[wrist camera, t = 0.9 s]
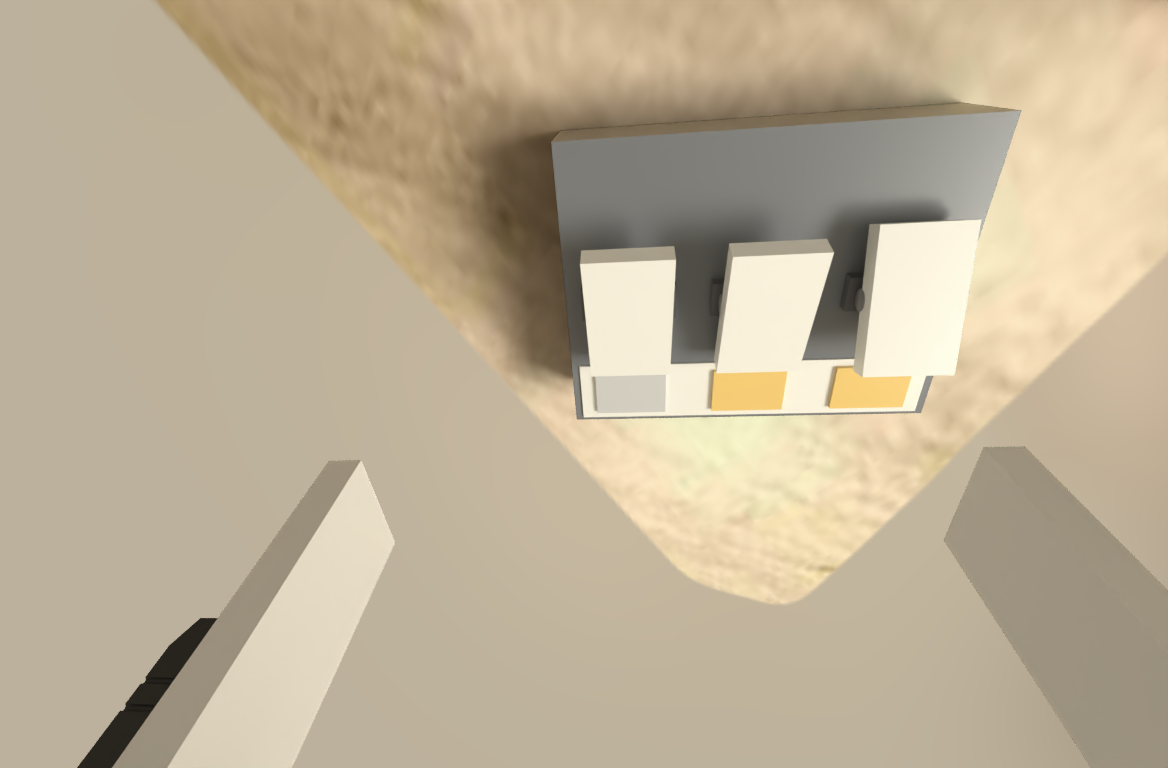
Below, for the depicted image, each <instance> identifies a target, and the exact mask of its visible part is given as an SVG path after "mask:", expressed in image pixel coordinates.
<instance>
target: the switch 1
mask: <svg viewBox="0 0 1168 768" xmlns="http://www.w3.org/2000/svg"><path fill="white" fill-rule="evenodd" d="M580 269H581V278H582V288H583V298H584V308H585V318H586V328H587V338H588V348H589V358H590V368H591V377H597V376H635V375H670V366H671V347H672V327H673V308H674V289H675V270H676V256H675V249H674V246H665V247H644V248H623V249H603V250H582V251H581V259H580Z"/></svg>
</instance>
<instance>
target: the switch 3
mask: <svg viewBox="0 0 1168 768" xmlns="http://www.w3.org/2000/svg"><path fill="white" fill-rule="evenodd" d="M981 220H982V219H960V220H940V221H920V222H900V223H880V224H869V232H868V241H867V250H866V259H865V268H864V277H863V286H862V289H859V290H858V291H857V293H856V296H855V306H856V309H857V311H859V312H860V313H859V322H858V331H857V340H856V349H855V358H854V367H853V371H854V372H855V373H857V374H858V375H860V376H861V377H896V376H936V375H955V369H956V364H957V358H958V352H959V346H960V341H961V335H962V329H963V323H964V318H965V312H966V306H967V300H968V295H969V289H970V283H971V277H972V272H973V266H974V260H975V254H976V249H977V243H978V237H979V231H980V226H981Z"/></svg>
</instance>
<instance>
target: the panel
mask: <svg viewBox="0 0 1168 768" xmlns="http://www.w3.org/2000/svg"><path fill="white" fill-rule="evenodd" d="M1020 113H1021V110H1014V109H1006V108H999V107H991V106H984V105H976V104H969V103H952V104H937V105H923V106H908V107H894V108H879V109H865V110H850V111H836V112H821V113H807V114H792V115H778V116H763V117H749V118H734V119H720V120H705V121H691V122H676V123H661V124H647V125H632V126H618V127H603V128H589V129H574V130H561V131H560V132H559V133H558V134H557V136H556V137H555V138H554V139H553V140H552V141H551V146H552V157H553V168H554V179H555V189H556V200H557V211H558V222H559V233H560V243H561V254H562V265H563V276H564V286H565V297H566V308H567V319H568V329H569V340H570V351H571V362H572V372H573V383H574V394H575V405H576V415H577V419H627V418H679V417H731V416H784V415H836V414H889V413H921V411H922V408H923V405H924V402H925V399H926V396H927V393H928V390H929V387H930V384H931V381H932V378H933V376H896V377H861V376H860V375H858V374H857V373H855V372H854V371H853V367H854V358H855V349H856V340H857V331H858V322H859V313H860V312H859V311H857V309H856V306H855V296H856V293H857V291H858V290H859V289H862V286H863V277H864V268H865V259H866V250H867V241H868V232H869V224H880V223H900V222H920V221H940V220H960V219H982V220H981V226H980V231H979V237H980V234H981V231H982V228H983V225H984V221H985V218H986V215H987V212H988V209H989V206H990V203H991V200H992V197H993V194H994V191H995V188H996V185H997V182H998V179H999V176H1000V173H1001V170H1002V167H1003V164H1004V161H1005V158H1006V155H1007V152H1008V149H1009V146H1010V143H1011V140H1012V137H1013V134H1014V131H1015V128H1016V125H1017V122H1018V119H1019V116H1020ZM979 237H978V240H979ZM811 239H827V240H828V242H829V244H830V246H831V247H832V249H833V251H834V255H833V258H832V261H831V265H830V268H829V271H828V275H827V278H826V281H825V285H824V288H823V291H822V295H821V298H820V301H819V305H818V308H817V311H816V315H815V318H814V321H813V325H812V328H811V332H810V335H809V338H808V342H807V345H806V348H805V352H804V355H803V358H802V362H801V365H800V368H799V371H786V372H748V373H716V368H715V362H714V354H715V347H716V339H717V332H718V324H719V317H720V315H719V296H720V294H723V286H724V279H725V271H726V264H727V256H728V249H729V243H748V242H769V241H790V240H811ZM665 246H674V249H675V256H676V270H675V289H674V308H673V327H672V347H671V366H670V375H635V376H597V377H591V368H590V358H589V348H588V338H587V328H586V318H585V308H584V298H583V288H582V278H581V269H580V259H581V251H582V250H603V249H623V248H644V247H665Z"/></svg>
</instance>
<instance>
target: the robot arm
mask: <svg viewBox="0 0 1168 768" xmlns="http://www.w3.org/2000/svg"><path fill="white" fill-rule="evenodd" d="M944 541H945V543H946V545H947V546H948V548H949V549H950V551H951V552H952V554H953V555H954V557H955V558H956V560H957V562H958V563H959V565H960V566H961V568H962V569H963V571H964V572H965V574H966V576H967V577H968V579H969V580H970V582H971V583H972V585H973V586H974V588H975V589H976V591H977V592H978V594H979V596H980V597H981V599H982V600H983V602H984V603H985V605H986V606H987V608H988V610H989V611H990V613H991V614H992V616H993V617H994V619H995V620H996V622H997V623H998V625H999V626H1000V628H1001V629H1002V631H1003V633H1004V634H1005V636H1006V637H1007V639H1008V641H1009V642H1010V643H1011V645H1012V647H1013V648H1014V650H1015V651H1016V653H1017V654H1018V656H1019V658H1020V659H1021V661H1022V662H1023V664H1024V665H1025V667H1026V668H1027V670H1028V671H1029V673H1030V675H1031V676H1032V678H1033V679H1034V681H1035V682H1036V684H1037V685H1038V687H1039V688H1040V690H1041V691H1042V693H1043V695H1044V696H1045V698H1046V699H1047V701H1048V702H1049V704H1050V705H1051V707H1052V709H1053V710H1054V712H1055V713H1056V715H1057V716H1058V718H1059V719H1060V721H1061V722H1062V724H1063V726H1064V727H1065V729H1066V730H1067V731H1068V733H1069V735H1070V736H1071V738H1072V739H1073V741H1074V743H1075V744H1076V746H1077V747H1078V749H1079V750H1080V752H1081V753H1082V755H1083V756H1084V758H1085V760H1086V761H1087V763H1088V764H1089V766H1090V767H1091V768H1168V590H1167V589H1166V588H1165V587H1164V586H1163V585H1162V584H1161V583H1160V582H1159V581H1158V580H1157V579H1156V578H1155V577H1154V576H1153V575H1152V574H1151V573H1150V572H1149V571H1148V570H1147V569H1146V568H1145V567H1144V566H1143V565H1142V564H1141V563H1140V562H1139V561H1138V560H1137V559H1136V558H1135V557H1134V556H1133V555H1132V554H1131V553H1130V552H1129V551H1128V550H1127V549H1126V548H1125V547H1124V546H1123V545H1122V544H1121V543H1120V542H1119V541H1118V540H1117V539H1116V538H1115V537H1114V536H1113V535H1112V534H1111V533H1110V532H1109V531H1108V530H1107V529H1106V528H1105V527H1104V526H1103V525H1102V524H1101V523H1100V522H1099V521H1098V520H1097V519H1096V518H1095V517H1094V516H1093V515H1092V514H1091V513H1090V512H1089V511H1088V510H1087V509H1086V508H1085V507H1084V506H1083V505H1082V504H1081V503H1080V502H1079V501H1078V500H1077V499H1076V498H1075V497H1074V496H1073V495H1072V494H1071V493H1070V492H1069V491H1068V489H1067V488H1066V487H1065V486H1064V485H1063V484H1061V482H1060V481H1058V480H1057V478H1055V476H1054V475H1053V474H1051V472H1049V470H1047V468H1045V466H1044V465H1042V463H1041V462H1039V460H1038V459H1037V458H1035V456H1034V455H1032V453H1031V452H1030V451H1029V450H1028V449H1027V448H1026V447H984V448H983V450H982V452H981V454H980V457H979V460H978V461H977V464H976V466H975V468H974V471H973V473H972V476H971V478H970V480H969V482H968V485H967V487H966V489H965V492H964V494H963V496H962V499H961V501H960V503H959V506H958V508H957V510H956V513H955V515H954V517H953V519H952V522H951V524H950V526H949V529H948V531H947V533H946V536H945V538H944ZM394 544H395V541H394V539H393V536H392V534H391V532H390V529H389V527H388V524H387V522H386V520H385V517H384V515H383V512H382V510H381V507H380V505H379V502H378V500H377V498H376V495H375V493H374V490H373V488H372V485H371V483H370V480H369V478H368V476H367V473H366V471H365V468H364V466H363V463H362V461H361V460H349V461H348V460H346V461H329V462H328V463H327V464H326V466H325V467H324V469H323V470H322V471H321V473H320V474H319V476H318V477H317V479H316V480H315V481H314V483H313V484H312V486H311V487H310V488H309V490H308V491H307V493H306V494H305V496H304V497H303V498H302V500H301V501H300V503H299V504H298V505H297V507H296V508H295V510H294V511H293V512H292V514H291V515H290V517H289V518H288V520H287V521H286V522H285V524H284V525H283V527H282V528H281V530H280V531H279V532H278V534H277V535H276V537H275V538H274V539H273V541H272V542H271V544H270V545H269V547H268V548H267V549H266V551H265V552H264V554H263V555H262V556H261V558H260V559H259V561H258V562H257V563H256V565H255V566H254V568H253V569H252V570H251V572H250V573H249V575H248V576H247V578H246V579H245V581H244V582H243V583H242V585H241V586H240V587H239V589H238V590H237V592H236V593H235V595H234V596H233V598H232V599H231V600H230V602H229V603H228V604H227V606H226V607H225V609H224V610H223V611H222V613H221V614H220V616H219V617H218V618H200V619H199V620H198V621H197V622H196V623H195V624H193V625H192V626H191V627H190V628H189V629H188V630H187V631H185V632H184V633H183V634H182V635H181V636H180V637H179V638H177V639H176V640H175V641H174V642H173V643H172V644H171V645H170V646H169V647H168V648H167V649H166V651H165V652H164V654H163V655H162V656H161V657H160V659H159V660H158V661H157V663H156V664H155V665H154V667H153V668H152V669H151V671H150V672H149V673H148V675H147V676H146V681H145V682H144V683H143V684H140V685H139V687H138V688H137V689H136V691H135V692H134V693H133V695H132V696H131V697H130V699H129V700H128V701H127V702H126V707H125V709H124V710H123V711H120V712H119V713H118V715H117V716H116V717H115V718H114V720H113V721H112V722H111V724H110V725H109V726H108V728H107V729H106V730H105V732H104V733H103V734H102V736H101V737H100V738H99V740H98V741H97V742H96V744H95V745H94V746H93V748H92V749H91V750H90V752H89V753H88V754H87V755H86V757H85V758H84V759H83V761H82V762H81V763H80V765H79V766H78V767H77V768H292V766H293V764H294V761H295V760H296V757H297V755H298V753H299V751H300V749H301V746H302V744H303V742H304V740H305V738H306V736H307V734H308V731H309V729H310V727H311V725H312V723H313V720H314V718H315V716H316V714H317V712H318V709H319V707H320V705H321V703H322V701H323V699H324V696H325V694H326V692H327V690H328V688H329V685H330V683H331V681H332V679H333V677H334V675H335V672H336V670H337V668H338V666H339V664H340V662H341V659H342V657H343V655H344V653H345V651H346V648H347V646H348V644H349V642H350V640H351V638H352V635H353V633H354V631H355V629H356V627H357V624H358V622H359V620H360V618H361V615H362V613H363V611H364V609H365V607H366V605H367V603H368V600H369V598H370V596H371V594H372V592H373V589H374V587H375V585H376V583H377V581H378V578H379V576H380V574H381V572H382V570H383V568H384V565H385V563H386V561H387V559H388V557H389V555H390V552H391V550H392V548H393V546H394Z"/></svg>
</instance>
